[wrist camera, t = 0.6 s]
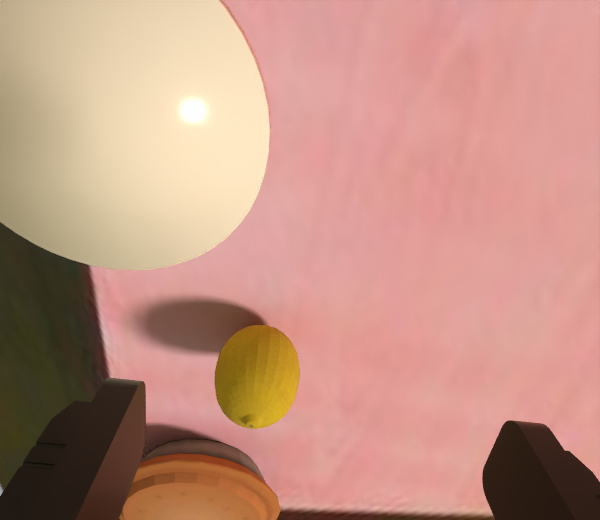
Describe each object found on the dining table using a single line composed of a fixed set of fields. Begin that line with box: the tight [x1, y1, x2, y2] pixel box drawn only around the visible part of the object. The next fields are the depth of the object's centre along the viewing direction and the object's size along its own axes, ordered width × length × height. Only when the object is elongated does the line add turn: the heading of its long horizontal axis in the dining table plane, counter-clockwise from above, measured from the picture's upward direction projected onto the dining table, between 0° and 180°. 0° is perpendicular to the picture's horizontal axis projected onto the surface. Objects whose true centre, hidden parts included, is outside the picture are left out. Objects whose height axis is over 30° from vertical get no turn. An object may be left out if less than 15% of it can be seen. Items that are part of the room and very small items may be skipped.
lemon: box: [215, 325, 300, 429], centre depth 29 cm, size 6×6×8 cm
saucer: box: [0, 0, 271, 270], centre depth 23 cm, size 18×18×1 cm
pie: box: [119, 439, 280, 520], centre depth 41 cm, size 16×16×5 cm
